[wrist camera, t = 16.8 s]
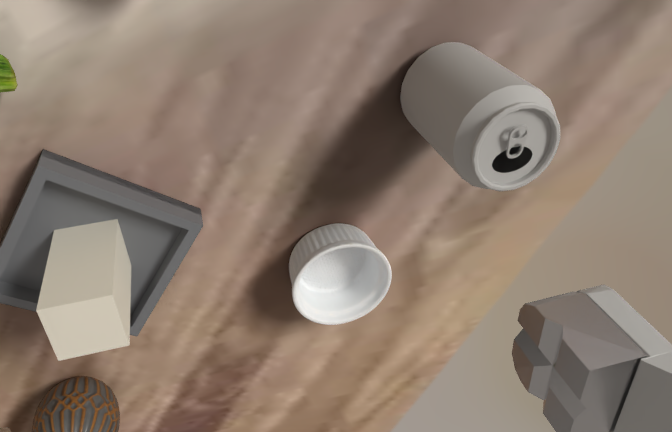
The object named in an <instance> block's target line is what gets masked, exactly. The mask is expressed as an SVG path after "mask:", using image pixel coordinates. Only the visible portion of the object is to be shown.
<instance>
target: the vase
mask: <svg viewBox="0 0 672 432" xmlns="http://www.w3.org/2000/svg"><path fill="white" fill-rule="evenodd" d="M119 423H120V412H119V406H118V402H117V399H116V397H115V395H114V393H113V392H112V390H111V389H110V388H109V387H108V386H107V385H106V384H105V383H103V382H102V381H100V380H97V379H95V378H91V377H84V376H81V377H74V378H70V379H67V380H65V381H62V382H61V383H59V384H57V385H56V386H54V387H53V388H52V389H51V390H50V391H49V392H48V393H47V394H46V395H45V396H44V398H43V399H42V401H41V402H40V404H39V406H38V408H37V411H36V414H35V417H34V421H33V428H32V432H118V430H119Z"/></svg>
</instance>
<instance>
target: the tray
mask: <svg viewBox="0 0 672 432" xmlns="http://www.w3.org/2000/svg"><path fill="white" fill-rule="evenodd" d="M114 219H118V223H119V226H120V229H121V233H122V236H123V239H124V243H125V246H126V249H127V253H128V256H129V259H130V263H131V302H130V335H133V336H138V334H139V332H140V331H141V329H142V327H143V326H144V324H145V322H146V321H147V319H148V317H149V316H150V314H151V312H152V311H153V309H154V307H155V306H156V304H157V302H158V301H159V299H160V297H161V295H162V294H163V292H164V290H165V289H166V287H167V285H168V284H169V282H170V280H171V279H172V277H173V275H174V274H175V272H176V270H177V269H178V267H179V265H180V264H181V262H182V260H183V259H184V257H185V255H186V254H187V252H188V250H189V249H190V247H191V245H192V244H193V242H194V240H195V238H196V237H197V235H198V233H199V232H200V230H201V228H202V227H203V222H202V216H201V209H199V208H197V207H194V206H192V205H189V204H186V203H184V202H181V201H178V200H176V199H173V198H171V197H168V196H165V195H163V194H160V193H157V192H155V191H152V190H149V189H147V188H144V187H142V186H139V185H136V184H134V183H131V182H128V181H126V180H123V179H121V178H118V177H115V176H113V175H110V174H107V173H105V172H102V171H99V170H97V169H94V168H92V167H89V166H86V165H84V164H81V163H78V162H76V161H73V160H70V159H68V158H65V157H63V156H60V155H57V154H55V153H52V152H49V151H47V150H44V149H43V151H42V153H41V155H40V157H39V159H38V162H37V164H36V166H35V168H34V170H33V173H32V175H31V177H30V179H29V181H28V184H27V186H26V188H25V190H24V193H23V195H22V197H21V199H20V201H19V204H18V206H17V208H16V210H15V212H14V215H13V217H12V219H11V221H10V224H9V226H8V228H7V230H6V232H5V235H4V237H3V239H2V241H1V243H0V303H2V304H6V305H11V306H15V307H19V308H23V309H27V310H31V311H35V312H37V311H36V309H37V304H38V300H39V295H40V291H41V286H42V282H43V277H44V273H45V269H46V264H47V260H48V255H49V251H50V246H51V242H52V237H53V233H54V230H57V229H63V228H69V227H74V226H80V225H86V224H91V223H97V222H103V221H109V220H114Z"/></svg>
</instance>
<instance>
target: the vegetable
mask: <svg viewBox="0 0 672 432" xmlns="http://www.w3.org/2000/svg"><path fill="white" fill-rule="evenodd" d="M16 87H17V82H16V76H15V73H14V70H13V69H12V67H11V65H10V63H9V61H8V59H7V58H5V57H4V56H3V55H1V54H0V92H9V91H15V89H16Z"/></svg>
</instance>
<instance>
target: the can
mask: <svg viewBox="0 0 672 432" xmlns="http://www.w3.org/2000/svg"><path fill="white" fill-rule="evenodd" d="M400 100H401V105H402V110H403V113H404V115H405V116H406V118H407V119H408V121H409V123H410V124H411V125H412V126H413V127H414V128H415V129H416V130H417V131H418V132H419V133H420V134H421V135H422V136H423V137H424V139H425V140H426V141H427V142H428V143H429V144H430V145H431V146H432V147H433V148H434V149H435V150H436V151H437V152H438V153H439V154H440V155H441V156H442V158H443V159H444V160H445V161H446V162H447V163H448V164H449V165H450V166H451V167H452V168H453V169H454V170H455V171H456V172H457V173H458V174H459V176H460V177H461V178H462V179H464V180H465V181H467V182H468V183H470V184H471V185H472V186H476V187H480V188H484V189H492V190H496V191H508V190H514V189H517V188H519V187H522V186H524V185H527V184H528V183H529V182H531V181H532V180H534V179H535V178H537V177H538V176H539V175H540V174H541V173H542V172H543V171H544V170H545V169H546V168H547V166H548V165H549V164H550V162H551V160H552V159H553V157H554V155H555V153H556V151H557V148H558V144H559V141H560V124H559V122H558V120H557V117H556V112H555V110H554V107H553V105H552V102H551V100H550V98H548V97H547V96H546V95H545V94H544V93H543V92H542V91H541V90H540V89H538V88H537V87H535V86H534V85H532V84H530V83H529V82H527V81H526V80H524V79H522V78H521V77H519V76H518V75H516V74H514V73H513V72H511V71H510V70H508V69H507V68H505V67H503V66H502V65H500V64H499V63H497V62H495V61H494V60H492V59H491V58H489V57H487V56H486V55H484V54H483V53H481V52H479V51H478V50H476V49H475V48H473V47H471V46H469V45H466V44H463V43H460V42H448V43H443V44H440V45H437V46H434V47H432V48H430V49H429V50H427V51H426V52H425V53H423V54H422V55H420V56H419V57H418V58H417V59H416V61H415V62H414V63H413V64H412V66H411V67H410V68H409V69H408V71H407V74H406V76H405V78H404V81H403V83H402V88H401V96H400Z"/></svg>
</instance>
